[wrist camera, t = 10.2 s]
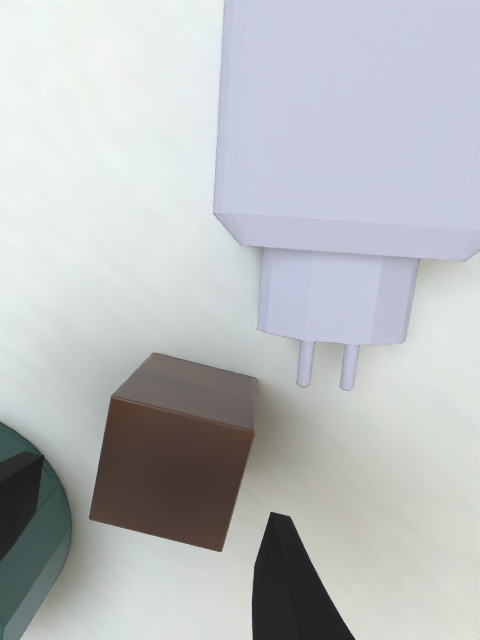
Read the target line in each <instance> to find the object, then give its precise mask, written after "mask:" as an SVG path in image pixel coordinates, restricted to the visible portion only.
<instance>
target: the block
mask: <svg viewBox="0 0 480 640" xmlns="http://www.w3.org/2000/svg"><path fill="white" fill-rule="evenodd" d="M255 418H256V379H255V378H253V377H248V376H244V375H240V374H236V373H232V372H228V371H224V370H220V369H216V368H212V367H208V366H204V365H200V364H196V363H192V362H188V361H184V360H180V359H176V358H172V357H168V356H164V355H160V354H156V353H152V354H151V355H150V356H149V358H148V359H147V360H146V361H145V362H144V363H143V364H142V365H141V366H140V367H139V368H138V369H137V370H136V371H135V372H134V373H133V374H132V375H131V376H130V377H129V378H128V379H127V380H126V381H125V382H124V383H123V384H122V385H121V386H120V387H119V388H118V390H117V391H116V392H115V393H114V394H113V395H112V396H111V399H110V405H109V410H108V416H107V421H106V427H105V432H104V438H103V444H102V449H101V455H100V460H99V466H98V471H97V477H96V482H95V488H94V493H93V499H92V504H91V510H90V516H89V519H90V520H93V521H97V522H101V523H105V524H109V525H113V526H117V527H121V528H125V529H129V530H133V531H137V532H141V533H145V534H149V535H153V536H157V537H161V538H165V539H169V540H173V541H177V542H181V543H186V544H190V545H194V546H198V547H202V548H206V549H210V550H214V551H218V552H221V551H222V550H223V547H224V543H225V539H226V536H227V532H228V529H229V525H230V522H231V518H232V514H233V511H234V507H235V504H236V500H237V496H238V493H239V489H240V486H241V482H242V478H243V475H244V471H245V468H246V464H247V461H248V457H249V453H250V450H251V446H252V443H253V439H254V435H255Z"/></svg>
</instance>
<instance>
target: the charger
mask: <svg viewBox="0 0 480 640" xmlns="http://www.w3.org/2000/svg"><path fill="white" fill-rule="evenodd" d="M213 214H214V215H215V217H216V218H217V219H218V220H219V221H220V222H221V223H222V225H223V226H224V227H225V228H226V229H227V230H228V232H229V233H230V234H231V235H232V236H233V237H234V239H235V240H236V241H237V242H238V243H239V244H240V245H244V246H257V247H264V251H263V263H262V275H261V287H260V299H259V311H258V323H257V330H259V331H262V332H265V333H269V334H274V335H279V336H284V337H289V338H294V339H299V340H301V346H300V355H299V364H298V373H297V382H296V383H297V384H298V385H299V386H301V387H307V386H309V385H310V378H311V369H312V361H313V352H314V344H315V341H318V342H330V343H342V344H345V351H344V358H343V366H342V373H341V380H340V388H341V389H343V390H345V391H350V390H352V389H353V387H354V380H355V373H356V366H357V359H358V352H359V345H367V346H373V345H389V344H401V343H403V342H405V340H406V334H407V328H408V322H409V316H410V310H411V305H412V299H413V293H414V287H415V281H416V275H417V269H418V264H419V258H423V259H437V260H451V261H466V260H468V259H469V258H471V257H472V256H473V255H475V254H476V253H478V252H479V251H480V0H224V17H223V36H222V55H221V73H220V92H219V111H218V130H217V149H216V168H215V187H214V206H213Z"/></svg>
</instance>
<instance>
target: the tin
mask: <svg viewBox="0 0 480 640" xmlns="http://www.w3.org/2000/svg"><path fill="white" fill-rule="evenodd" d="M24 451H28V452H32V453H36V454H40V453H39V452H38V451H37V450H36V449H35V448H34V447H33V446H32V445H31V444H30V443H28V442H27V441H26V440H25V439H24V438H22V437H21V436H20V435H18V434H17V433H16V432H14V431H13V430H11V429H10V428H8V427H6V426H5V425H3V424H1V423H0V462H2V461H4V460H6V459H8V458H10V457H12V456H14V455H17V454H19V453H21V452H24ZM40 455H41V454H40ZM70 540H71V515H70V510H69V506H68V501H67V499H66V496H65V493H64V490H63V488H62V486H61V484H60V482H59V480H58V478H57V476H56V474H55V473H54V471H53V470H52V468H51V467H50V465H49V464H48V463H47V461H46V460H45V459H44V461H43V468H42V475H41V482H40V489H39V496H38V503H37V510H36V513H35V514H34V516H33V517H32V519H31V520H30V522H29V523H28V525H27V527H26V528H25V530H24V531H23V533H22V534H21V536H20V537H19V538H18V540H17V541H16V543H15V544H14V546H13V547H12V548H11V549H10V551H9V552H8V553H7V554H6V555H5V557H4V558H3V559H2V560H1V562H0V640H20V638H21V637H22V635H23V633H24V632H25V630H26V628H27V627H28V625H29V623H30V622H31V620H32V618H33V617H34V615H35V613H36V612H37V610H38V608H39V607H40V605H41V603H42V602H43V600H44V598H45V597H46V595H47V593H48V592H49V590H50V588H51V587H52V585H53V583H54V582H55V580H56V578H57V577H58V575H59V574H60V572H61V570H62V568H63V565H64V561H65V559H66V556H67V553H68V549H69V545H70Z"/></svg>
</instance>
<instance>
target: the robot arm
mask: <svg viewBox="0 0 480 640" xmlns="http://www.w3.org/2000/svg"><path fill="white" fill-rule="evenodd" d="M43 461H44V455H40V454H36V453H32V452H28V451H24V452H21V453H19V454H17V455H14V456H12V457H10V458H8V459H6V460H4V461H2V462H0V562H1V560H2V559H3V558H4V557H5V555H6V554H7V553H8V552H9V551H10V549H11V548H12V547H13V546H14V544H15V543H16V541H17V540H18V538H19V537H20V536H21V534H22V533H23V531H24V530H25V528H26V527H27V525H28V523H29V522H30V520H31V519H32V517H33V516H34V514H35V513H36V510H37V503H38V496H39V489H40V482H41V475H42V468H43ZM252 632H253V640H355V638H354V637H353V635H352V634H351V632H350V631H349V629H348V627H347V626H346V624H345V622H344V621H343V619H342V618H341V616H340V614H339V612H338V611H337V609H336V607H335V605H334V604H333V602H332V600H331V599H330V597H329V595H328V593H327V591H326V589H325V588H324V586H323V584H322V582H321V580H320V578H319V576H318V574H317V572H316V570H315V568H314V566H313V564H312V562H311V560H310V558H309V556H308V554H307V552H306V550H305V547H304V545H303V543H302V541H301V539H300V537H299V534H298V532H297V530H296V528H295V525H294V523H293V521H292V519H291V517H290V516H286V515H282V514H278V513H274V512H271V513H270V516H269V519H268V523H267V526H266V529H265V533H264V536H263V539H262V542H261V546H260V549H259V552H258V556H257V559H256V562H255V565H254V579H253V593H252Z"/></svg>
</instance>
